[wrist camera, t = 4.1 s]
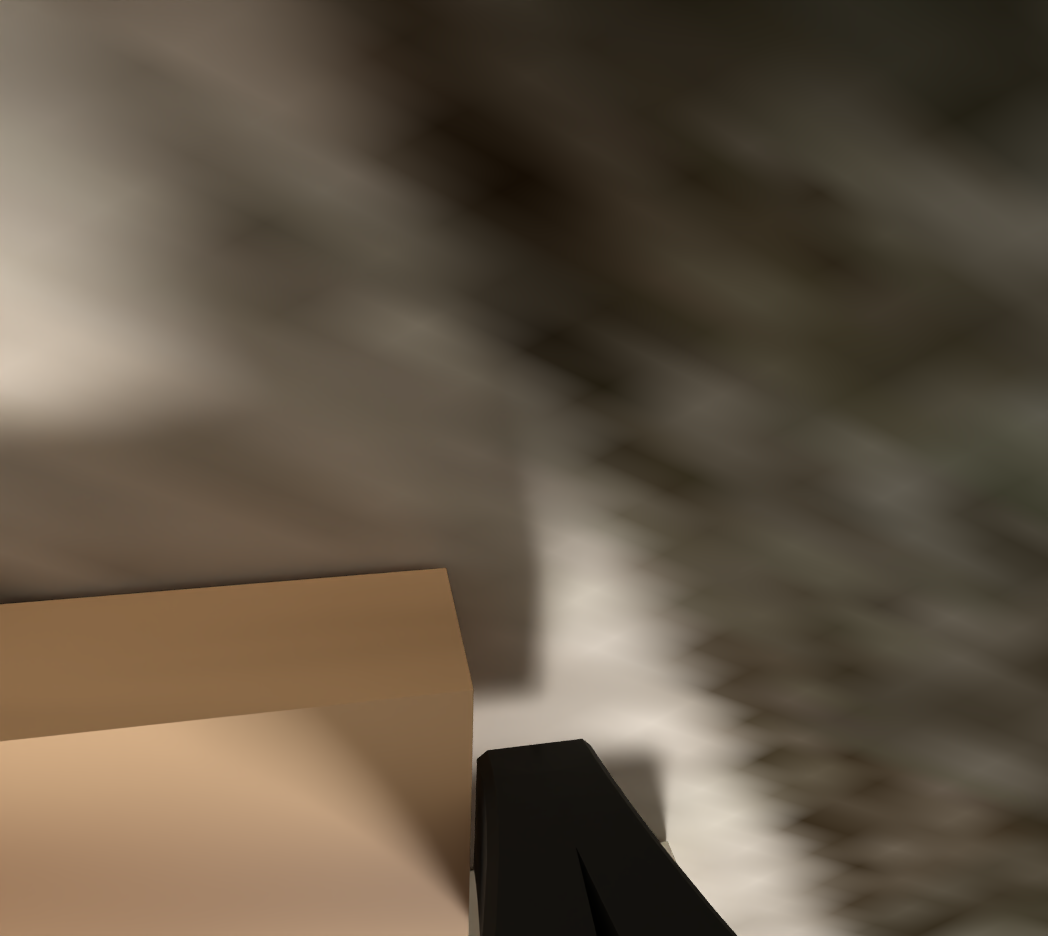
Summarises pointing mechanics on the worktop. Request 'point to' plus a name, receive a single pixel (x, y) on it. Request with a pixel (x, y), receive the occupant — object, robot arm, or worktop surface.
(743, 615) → the worktop surface
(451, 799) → the tan flat block
